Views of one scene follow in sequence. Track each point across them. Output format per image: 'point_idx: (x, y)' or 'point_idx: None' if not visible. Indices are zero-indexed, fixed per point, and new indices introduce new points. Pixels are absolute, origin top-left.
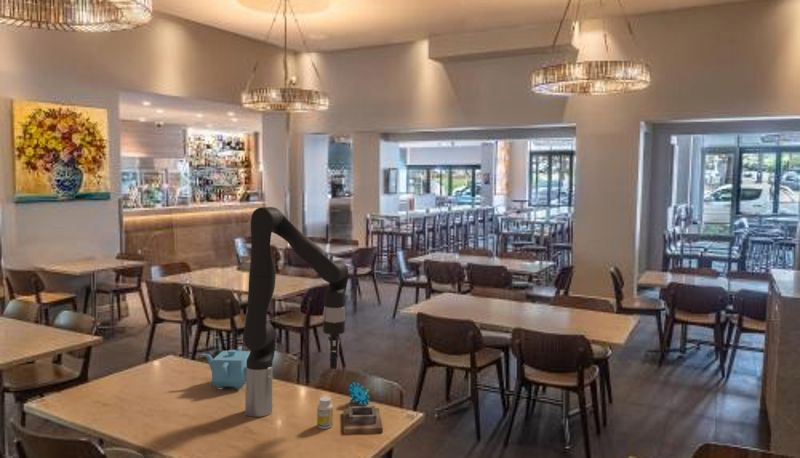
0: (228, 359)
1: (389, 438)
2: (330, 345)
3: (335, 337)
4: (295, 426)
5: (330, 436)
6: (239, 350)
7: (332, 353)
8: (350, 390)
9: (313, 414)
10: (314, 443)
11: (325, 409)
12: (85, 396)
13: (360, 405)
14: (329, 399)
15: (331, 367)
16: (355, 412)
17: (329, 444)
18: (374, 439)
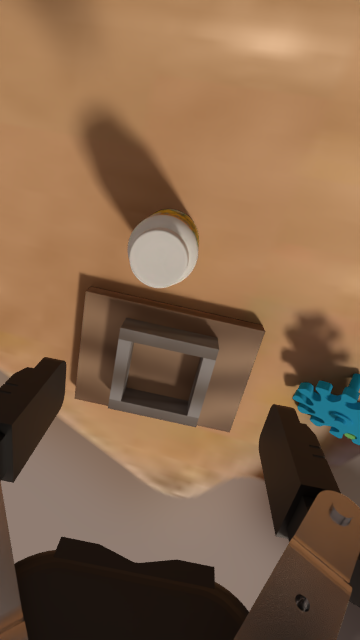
0: None
1: None
2: (63, 600)
3: None
4: (199, 117)
5: (78, 238)
6: None
7: (284, 480)
8: (344, 396)
9: (296, 217)
10: (29, 169)
11: (128, 246)
12: None
13: (295, 392)
14: (145, 278)
15: (25, 368)
16: (200, 359)
17: (16, 221)
18: (37, 357)
